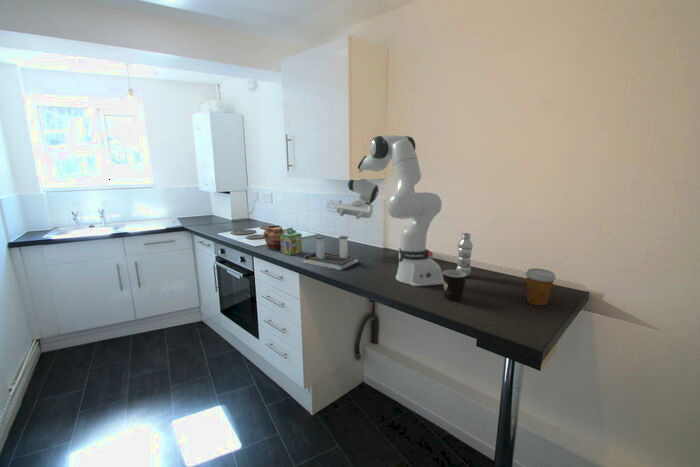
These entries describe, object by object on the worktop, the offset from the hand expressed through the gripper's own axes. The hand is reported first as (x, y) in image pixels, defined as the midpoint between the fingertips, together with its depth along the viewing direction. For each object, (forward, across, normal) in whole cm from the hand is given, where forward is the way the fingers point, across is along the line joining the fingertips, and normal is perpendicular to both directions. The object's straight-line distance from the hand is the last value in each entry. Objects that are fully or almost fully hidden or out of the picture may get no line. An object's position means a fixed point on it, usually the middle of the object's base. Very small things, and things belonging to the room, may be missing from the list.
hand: (349, 215), depth 172 cm
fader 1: (+20, -8, +18) cm, 28 cm away
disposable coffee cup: (+32, +90, +7) cm, 95 cm away
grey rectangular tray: (+17, -4, +21) cm, 27 cm away
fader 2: (+14, +3, +18) cm, 23 cm away
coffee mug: (+38, +60, +9) cm, 72 cm away
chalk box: (+9, -33, +26) cm, 43 cm away
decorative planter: (+3, -50, +29) cm, 58 cm away
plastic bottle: (+12, +63, +15) cm, 66 cm away
